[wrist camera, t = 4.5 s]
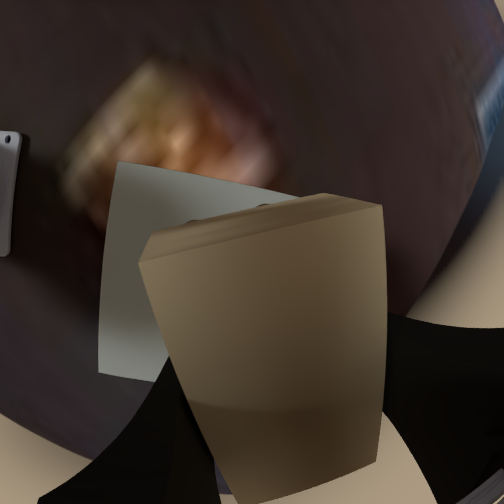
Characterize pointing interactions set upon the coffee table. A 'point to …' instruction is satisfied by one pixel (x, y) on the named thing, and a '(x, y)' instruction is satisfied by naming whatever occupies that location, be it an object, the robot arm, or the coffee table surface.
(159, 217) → the blue-grey board
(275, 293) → the beige cardboard carton
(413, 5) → the coffee table surface
